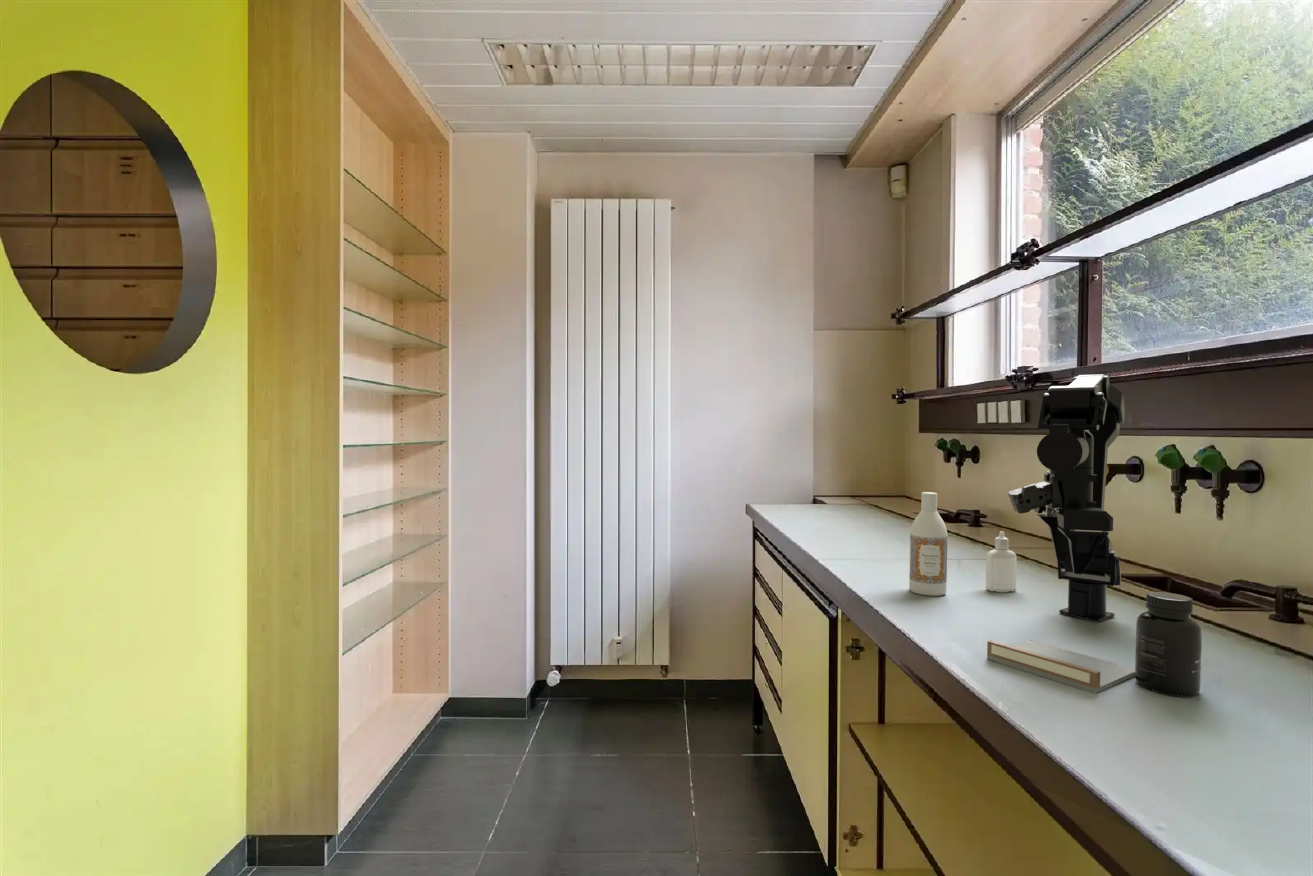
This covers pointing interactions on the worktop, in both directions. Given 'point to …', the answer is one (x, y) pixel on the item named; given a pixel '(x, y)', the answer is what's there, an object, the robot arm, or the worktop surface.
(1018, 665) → the shelf board
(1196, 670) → the supplement bottle
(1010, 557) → the eye dropper bottle
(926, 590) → the bath foam
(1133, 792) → the worktop surface
